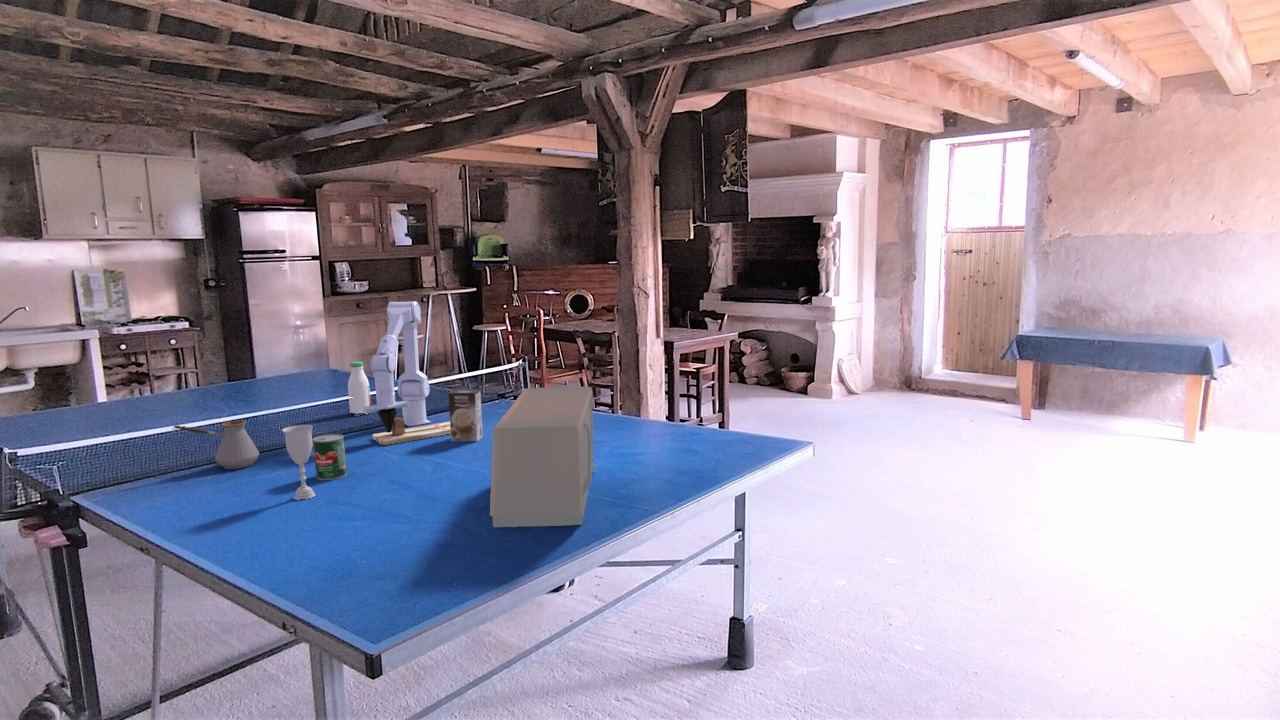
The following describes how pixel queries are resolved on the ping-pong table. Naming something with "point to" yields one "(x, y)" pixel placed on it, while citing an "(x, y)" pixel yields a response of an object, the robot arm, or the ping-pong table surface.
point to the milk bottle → (358, 388)
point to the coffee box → (465, 415)
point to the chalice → (300, 454)
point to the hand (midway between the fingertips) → (388, 431)
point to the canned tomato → (329, 457)
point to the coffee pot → (232, 445)
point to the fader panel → (414, 433)
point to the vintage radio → (543, 458)
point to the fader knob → (398, 426)
